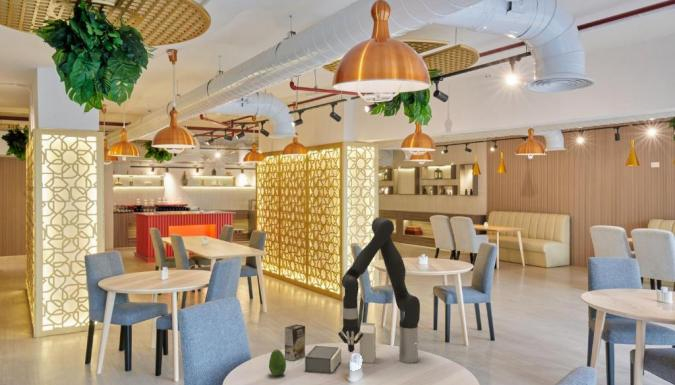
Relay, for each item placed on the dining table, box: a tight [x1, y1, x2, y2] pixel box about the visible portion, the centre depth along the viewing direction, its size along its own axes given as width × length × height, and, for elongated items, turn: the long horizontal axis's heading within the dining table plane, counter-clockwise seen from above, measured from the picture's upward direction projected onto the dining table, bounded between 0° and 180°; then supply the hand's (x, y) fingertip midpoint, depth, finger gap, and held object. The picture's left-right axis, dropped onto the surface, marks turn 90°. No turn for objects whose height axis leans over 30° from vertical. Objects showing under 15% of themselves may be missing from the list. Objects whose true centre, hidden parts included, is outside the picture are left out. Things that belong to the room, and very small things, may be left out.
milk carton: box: [359, 322, 377, 364], centre depth 268 cm, size 7×7×19 cm
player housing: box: [304, 345, 340, 375], centre depth 259 cm, size 12×18×7 cm, turn 166°
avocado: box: [268, 349, 287, 377], centre depth 247 cm, size 8×8×12 cm
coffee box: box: [284, 324, 306, 362], centre depth 272 cm, size 9×6×16 cm
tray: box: [330, 347, 342, 372], centre depth 259 cm, size 12×17×6 cm
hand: (351, 351), depth 258 cm, fingers closed
